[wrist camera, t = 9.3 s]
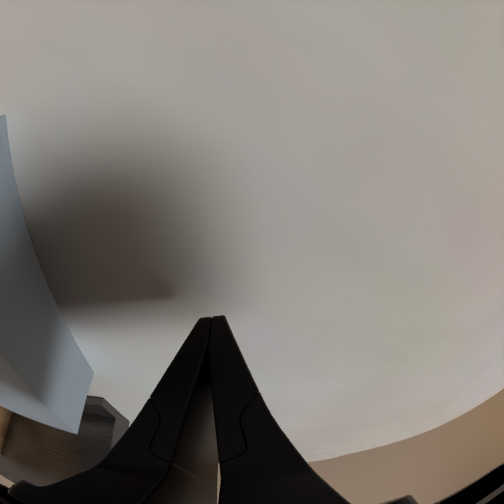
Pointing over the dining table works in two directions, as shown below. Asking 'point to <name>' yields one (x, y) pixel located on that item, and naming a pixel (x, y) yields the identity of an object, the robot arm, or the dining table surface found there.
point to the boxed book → (33, 324)
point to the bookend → (60, 445)
